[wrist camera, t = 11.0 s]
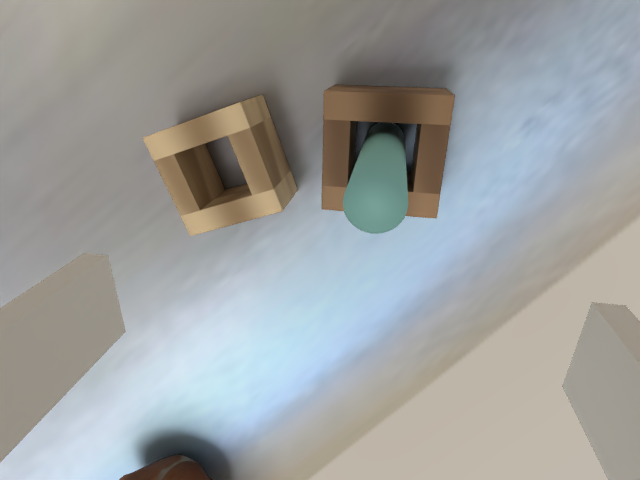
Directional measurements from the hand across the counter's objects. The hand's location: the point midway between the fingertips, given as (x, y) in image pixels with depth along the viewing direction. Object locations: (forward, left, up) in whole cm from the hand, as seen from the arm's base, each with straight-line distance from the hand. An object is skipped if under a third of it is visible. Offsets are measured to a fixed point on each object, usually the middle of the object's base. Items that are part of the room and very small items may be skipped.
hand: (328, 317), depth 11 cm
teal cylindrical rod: (+1, 0, -23) cm, 23 cm away
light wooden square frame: (-11, -2, -23) cm, 25 cm away
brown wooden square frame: (+1, 0, -23) cm, 23 cm away
